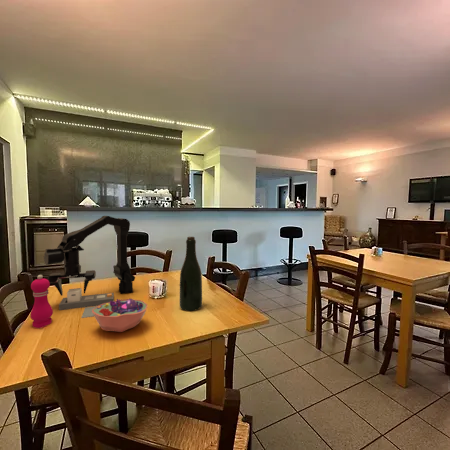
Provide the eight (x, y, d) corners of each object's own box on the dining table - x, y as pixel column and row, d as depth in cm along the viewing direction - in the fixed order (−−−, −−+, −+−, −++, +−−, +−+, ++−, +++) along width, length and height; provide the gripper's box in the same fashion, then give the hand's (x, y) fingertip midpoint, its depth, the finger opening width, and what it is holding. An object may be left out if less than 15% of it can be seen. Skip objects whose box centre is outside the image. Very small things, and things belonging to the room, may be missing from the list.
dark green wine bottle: (174, 307, 121) (174, 236, 118) (192, 301, 129) (192, 234, 126) (189, 313, 114) (189, 239, 111) (206, 307, 122) (207, 236, 119)
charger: (81, 302, 124) (81, 288, 124) (80, 306, 120) (79, 291, 119) (69, 303, 123) (69, 289, 122) (67, 307, 118) (67, 292, 117)
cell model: (103, 318, 108) (102, 292, 107) (152, 317, 110) (151, 291, 109) (84, 340, 92) (83, 309, 91) (142, 338, 93) (141, 307, 92)
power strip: (113, 299, 131) (113, 291, 131) (113, 305, 123) (113, 297, 123) (63, 305, 124) (63, 296, 123) (59, 312, 115) (58, 302, 115)
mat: (111, 305, 122) (111, 304, 122) (110, 315, 112) (110, 313, 112) (85, 308, 118) (85, 307, 118) (81, 319, 108) (81, 317, 108)
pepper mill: (57, 322, 105) (55, 273, 103) (39, 330, 98) (37, 278, 96) (44, 319, 107) (42, 271, 105) (26, 327, 100) (23, 276, 99)
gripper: (96, 256, 130) (97, 286, 132) (52, 258, 124) (54, 290, 125) (94, 261, 120) (95, 294, 121) (46, 264, 113) (47, 299, 115)
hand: (73, 294), depth 121 cm, fingers open, 9 cm apart
